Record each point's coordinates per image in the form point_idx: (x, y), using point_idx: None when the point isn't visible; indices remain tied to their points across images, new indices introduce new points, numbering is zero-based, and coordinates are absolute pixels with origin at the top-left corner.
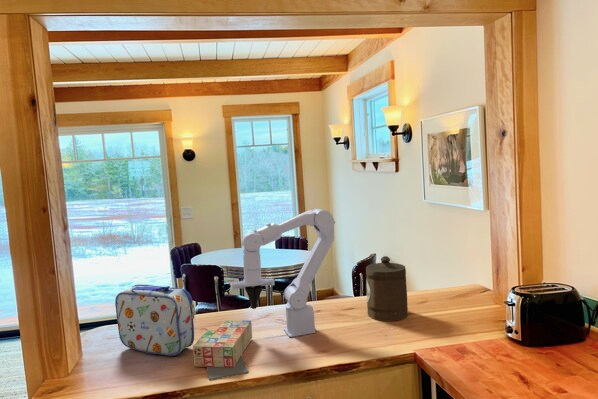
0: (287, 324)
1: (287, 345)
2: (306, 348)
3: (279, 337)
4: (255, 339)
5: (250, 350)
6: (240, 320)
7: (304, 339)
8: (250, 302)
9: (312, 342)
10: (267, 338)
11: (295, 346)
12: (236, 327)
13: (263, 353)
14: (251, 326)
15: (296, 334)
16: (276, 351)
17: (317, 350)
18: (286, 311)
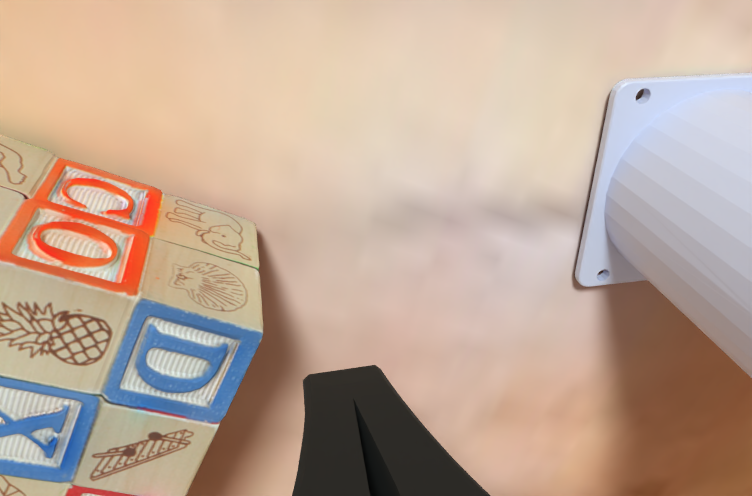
0: (647, 242)
1: (499, 393)
2: (585, 452)
3: (501, 246)
4: (284, 222)
5: None
6: (102, 296)
7: (647, 333)
8: (304, 445)
9: (663, 387)
10: (398, 234)
11: (540, 416)
12: (56, 484)
13: None
14: (258, 293)
15: (639, 275)
16: None
17: (624, 482)
18: (747, 320)
